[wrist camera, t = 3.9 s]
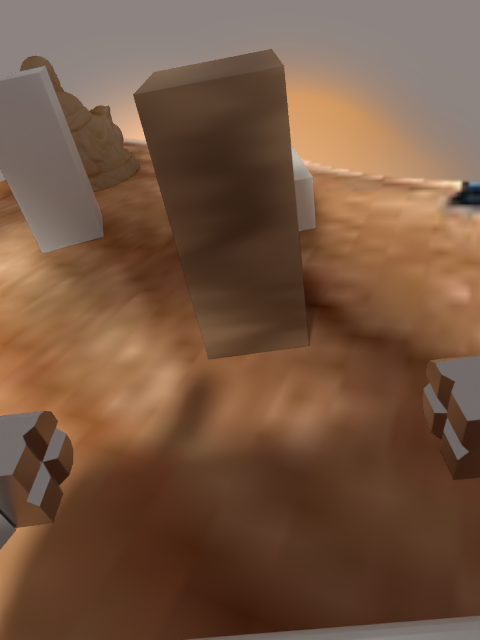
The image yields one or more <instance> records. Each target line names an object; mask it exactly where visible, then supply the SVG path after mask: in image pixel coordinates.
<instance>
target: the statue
mask: <svg viewBox="0 0 480 640" xmlns="http://www.w3.org/2000/svg"><path fill="white" fill-rule="evenodd" d="M43 66H46V69H47V72H48V74H49V77H50V79H51V82H52V85H53V87H54V90H55V92H56V95H57V98H58V100H59V103H60V106H61V108H62V111H63V113H64V116H65V119H66V121H67V124H68V127H69V129H70V132H71V134H72V137H73V140H74V142H75V145H76V147H77V150H78V153H79V155H80V158H81V161H82V163H83V166H84V168H85V171H86V174H87V176H88V179H89V182H90V184H91V187H92V189H93V192H96V191H99V190H102V189H105V188H109V187H112V186H114V185H116V184H118V183H120V182H123V181H125V180H127V179H128V178H130V177H132V176H133V175H135V174H136V171H138V170H139V168H140V167H139V163H138V161H137V159H136V157H135V156H134V154H133V153H129V152H128V150H127V149H124V148H123V136H122V132H121V130H120V128H119V127H118V126H117V125H115V124H113V122H112V118H111V114H110V107H109V106H106V107H105V106H97V107H95V108H94V109H93V110H90V111H88V110H87V108H86V107H84V106H83V104H82V103H81V102H80V101H79V100H78V99H77V98H76V97H75V96H73V95H72V94H69V93H67V92H64V90H63V88H62V87H61V86H60V82H59V79H58V77H57V75H56V74H55V72H54V69H53V67H52V65H51V64H50V62H49V61H48V60H46V59H45V58H43V57H40V56H32V57H28V58H27V59H25V60H24V61H23V63H22V65H21V69H20V71H24V70H29V69H34V68H38V67H43Z"/></svg>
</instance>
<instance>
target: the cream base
mask: <svg viewBox="0 0 480 640" xmlns="http://www.w3.org/2000/svg"><path fill="white" fill-rule="evenodd" d="M291 150H292V161H293V172H294V183H295V194H296V205H297V216H298V227H299V231H303V230H308V229H313V228H316V222H315V207H314V191H313V177H312V175H311V174H310V172H309V171H308V169H307V168H306V166H305V165H304V163H303V162H302V160H301V159H300V157H299V156H298V154H297V153H296V151H295V150H294V149H293V147H292V145H291Z"/></svg>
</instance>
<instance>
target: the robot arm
mask: <svg viewBox="0 0 480 640" xmlns="http://www.w3.org/2000/svg"><path fill="white" fill-rule="evenodd" d="M425 374H426V376H427V378H428V381H429V384H428V385H427V386H426V387H425V388H424V389H423V398H422V402H423V410H424V415H425V418H426V421H427V424H428V426H429V428H430V431H431V433H432V434H434V435H435V436H437V437H438V438H440V439H441V440H442V442H441V447H440V453H441V455H442V457H443V459H444V461H445V463H446V466H447V468H448V470H449V472H450V474H451V476H452V478H453V480H459V479H472V478H480V354H472V355H465V356H458V357H451V358H444V359H437V360H430V361H429V362H428V364H427V367H426V373H425ZM57 423H58V420H57V419H56V418H55V416H54V415H53V413H52V412H51V411H40V412H31V413H21V414H12V415H3V416H0V549H1V548H2V547H3V546H4V544H5V543H6V542H7V541H8V539H9V538H10V537H11V536H12V535H13V533H14V532H15V531H16V529H15V528H19V527H27V526H34V525H41V524H49V523H54V520H55V517H56V514H57V511H58V508H59V505H60V502H61V499H62V496H63V492H62V490H61V487H60V484H61V483H62V482H63V481H64V480H65V479H66V478H67V477H68V476H69V475H70V471H71V468H72V465H73V447H72V444H71V440H70V439H69V437H68V436H67V434H66V433H64V432H62V431H60V430H58V429H56V426H57ZM185 640H480V616H468V617H456V618H444V619H431V620H419V621H407V622H394V623H382V624H370V625H357V626H345V627H333V628H321V629H308V630H296V631H284V632H271V633H259V634H247V635H234V636H222V637H210V638H197V639H185Z"/></svg>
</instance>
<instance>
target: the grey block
mask: <svg viewBox="0 0 480 640" xmlns="http://www.w3.org/2000/svg"><path fill="white" fill-rule="evenodd" d="M0 169H1V171H2V173H3V175H4V177H5V179H6V181H7V183H8V185H9V187H10V189H11V191H12V193H13V195H14V197H15V199H16V201H17V203H18V205H19V207H20V209H21V211H22V213H23V215H24V217H25V219H26V221H27V223H28V225H29V227H30V229H31V231H32V233H33V235H34V237H35V239H36V241H37V243H38V245H39V247H40V249H41V251H42V253H46V252H50V251H53V250H57V249H61V248H64V247H68V246H72V245H75V244H79V243H83V242H86V241H90V240H94V239H97V238H101V237H104V234H103V218H102V213H101V210H100V208H99V205H98V202H97V200H96V197H95V195H94V192H93V189H92V187H91V184H90V182H89V179H88V176H87V174H86V171H85V168H84V166H83V163H82V161H81V158H80V155H79V153H78V150H77V147H76V145H75V142H74V140H73V137H72V134H71V132H70V129H69V127H68V124H67V121H66V119H65V116H64V113H63V111H62V108H61V106H60V103H59V100H58V98H57V95H56V92H55V90H54V87H53V85H52V82H51V79H50V77H49V74H48V72H47V69H46V66H43V67H38V68H34V69H29V70H24V71H20V72H15V73H11V74H6V75H2V76H0Z"/></svg>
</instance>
